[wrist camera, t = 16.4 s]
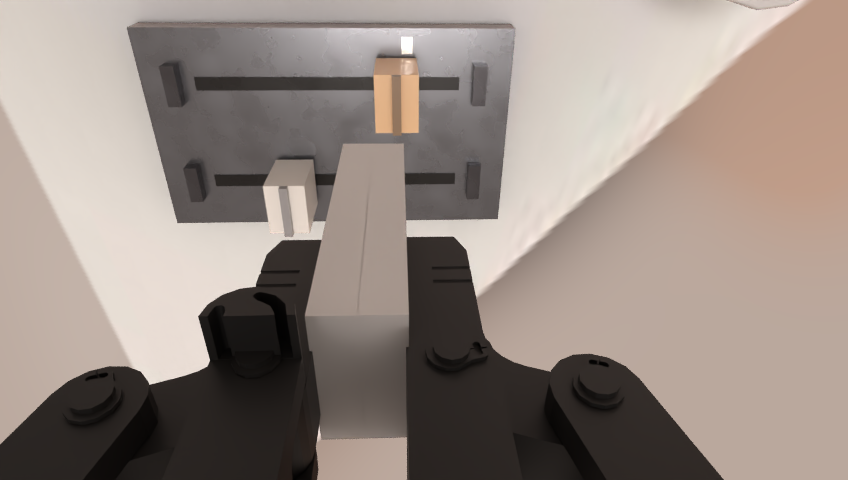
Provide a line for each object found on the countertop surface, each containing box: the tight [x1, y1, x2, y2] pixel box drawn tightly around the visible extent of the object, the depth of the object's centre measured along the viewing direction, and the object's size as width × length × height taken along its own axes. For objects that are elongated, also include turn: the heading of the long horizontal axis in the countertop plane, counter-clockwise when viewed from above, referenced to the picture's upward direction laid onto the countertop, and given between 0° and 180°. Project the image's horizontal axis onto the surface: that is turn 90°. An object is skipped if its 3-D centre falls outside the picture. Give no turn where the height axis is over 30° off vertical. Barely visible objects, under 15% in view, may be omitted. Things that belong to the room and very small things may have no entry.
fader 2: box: [374, 58, 419, 136], centre depth 38 cm, size 4×3×6 cm
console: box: [127, 23, 515, 223], centre depth 43 cm, size 16×28×3 cm, turn 89°
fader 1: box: [263, 160, 318, 237], centre depth 42 cm, size 4×3×6 cm
